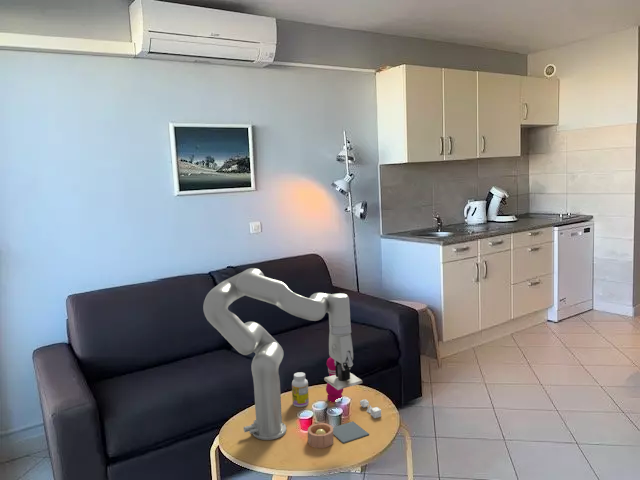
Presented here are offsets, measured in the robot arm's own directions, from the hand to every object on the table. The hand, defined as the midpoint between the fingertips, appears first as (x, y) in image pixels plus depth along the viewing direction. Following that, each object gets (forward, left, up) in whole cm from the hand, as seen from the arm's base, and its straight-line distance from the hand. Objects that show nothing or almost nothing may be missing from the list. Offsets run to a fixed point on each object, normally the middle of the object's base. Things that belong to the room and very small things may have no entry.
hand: (343, 377), depth 190 cm
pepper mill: (+11, +26, -22) cm, 36 cm away
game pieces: (+18, +10, -22) cm, 30 cm away
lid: (0, 0, -2) cm, 2 cm away
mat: (+2, 0, -22) cm, 22 cm away
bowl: (-10, 0, -22) cm, 24 cm away
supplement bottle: (-3, +30, -22) cm, 38 cm away
